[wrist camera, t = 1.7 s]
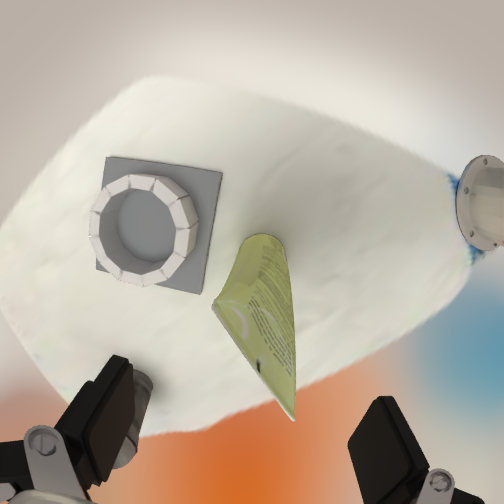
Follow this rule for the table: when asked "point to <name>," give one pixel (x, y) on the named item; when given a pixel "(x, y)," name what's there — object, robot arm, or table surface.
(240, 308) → the tube
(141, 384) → the beverage cup
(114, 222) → the socket board
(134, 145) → the table surface
